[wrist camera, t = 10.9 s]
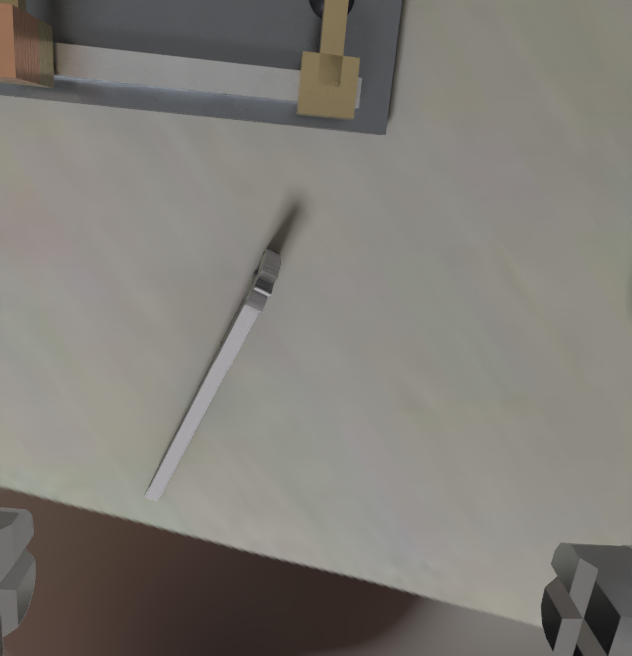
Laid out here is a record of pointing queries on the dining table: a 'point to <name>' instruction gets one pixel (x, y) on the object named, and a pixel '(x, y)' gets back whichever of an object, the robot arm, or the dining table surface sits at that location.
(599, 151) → the dining table surface
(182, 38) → the bolt plate
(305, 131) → the dining table surface
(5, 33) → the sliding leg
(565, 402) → the dining table surface
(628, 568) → the robot arm
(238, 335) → the caliper
